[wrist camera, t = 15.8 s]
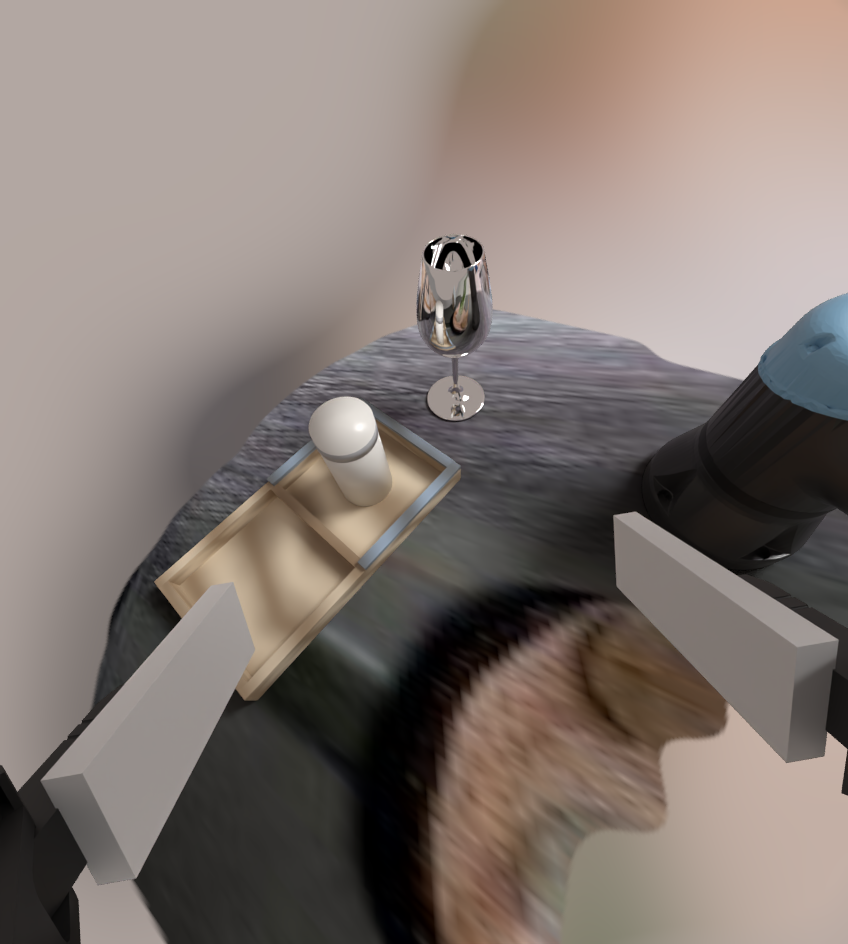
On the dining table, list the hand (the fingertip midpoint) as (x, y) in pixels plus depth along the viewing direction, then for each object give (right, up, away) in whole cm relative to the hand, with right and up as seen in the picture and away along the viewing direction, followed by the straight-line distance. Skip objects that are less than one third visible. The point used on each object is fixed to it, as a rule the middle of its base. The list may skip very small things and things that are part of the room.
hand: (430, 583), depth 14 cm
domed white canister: (-7, +3, +33) cm, 34 cm away
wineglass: (+4, +13, +39) cm, 42 cm away
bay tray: (-12, -3, +31) cm, 34 cm away
